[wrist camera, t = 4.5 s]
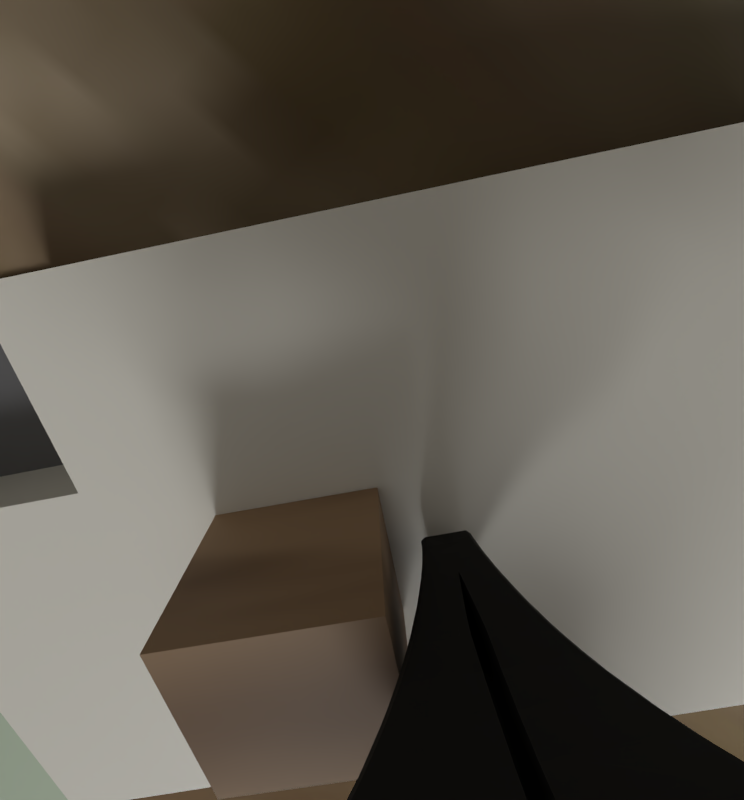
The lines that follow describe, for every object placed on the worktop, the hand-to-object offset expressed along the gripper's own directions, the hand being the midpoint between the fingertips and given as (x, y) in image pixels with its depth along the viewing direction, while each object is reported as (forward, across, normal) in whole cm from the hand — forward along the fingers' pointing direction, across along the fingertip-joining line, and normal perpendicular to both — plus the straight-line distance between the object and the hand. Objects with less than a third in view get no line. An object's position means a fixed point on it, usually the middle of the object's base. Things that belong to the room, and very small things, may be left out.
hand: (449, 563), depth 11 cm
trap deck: (+3, +5, 0) cm, 6 cm away
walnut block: (+1, +4, 0) cm, 4 cm away
